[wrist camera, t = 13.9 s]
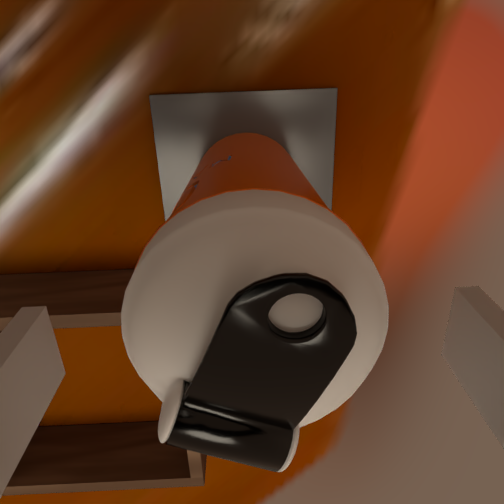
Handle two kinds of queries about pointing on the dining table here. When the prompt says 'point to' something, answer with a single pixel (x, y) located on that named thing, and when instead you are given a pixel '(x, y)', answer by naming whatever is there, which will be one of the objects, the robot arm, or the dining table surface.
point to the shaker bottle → (251, 308)
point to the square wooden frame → (91, 435)
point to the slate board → (244, 121)
